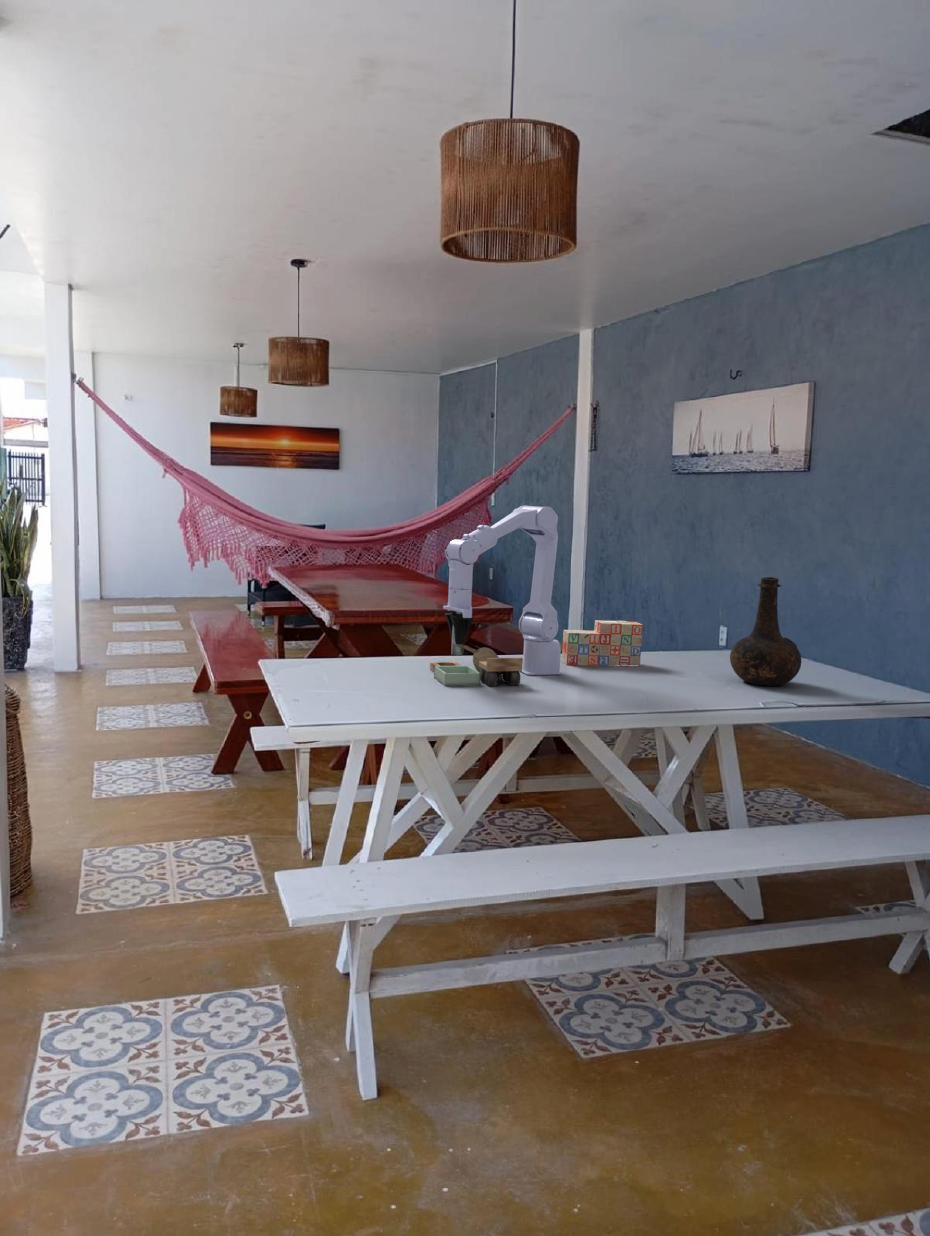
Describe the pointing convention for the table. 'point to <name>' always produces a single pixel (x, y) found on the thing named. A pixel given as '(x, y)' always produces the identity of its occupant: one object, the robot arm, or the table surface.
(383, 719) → the table surface
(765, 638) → the glass bottle
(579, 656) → the stack of blocks
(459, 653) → the pin
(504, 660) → the trolley
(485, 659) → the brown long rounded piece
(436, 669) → the tray
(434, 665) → the pin holder
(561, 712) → the table surface
